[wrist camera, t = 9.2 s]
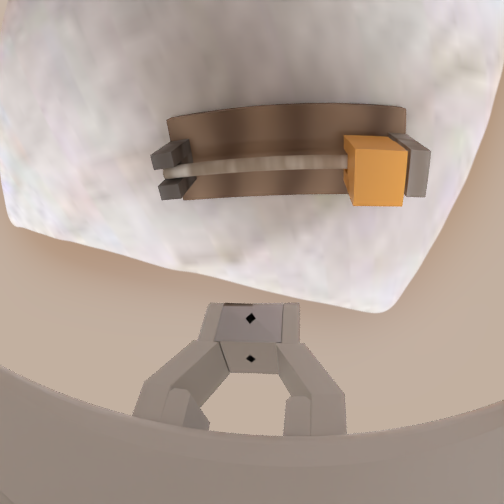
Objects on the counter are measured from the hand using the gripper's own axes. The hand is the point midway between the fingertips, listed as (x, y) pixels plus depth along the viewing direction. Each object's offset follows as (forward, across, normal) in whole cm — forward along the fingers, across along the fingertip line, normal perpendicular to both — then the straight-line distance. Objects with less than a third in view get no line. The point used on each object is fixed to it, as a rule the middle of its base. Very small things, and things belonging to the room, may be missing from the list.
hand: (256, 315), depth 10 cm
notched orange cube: (+18, -8, +1) cm, 19 cm away
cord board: (+22, -1, 0) cm, 22 cm away
